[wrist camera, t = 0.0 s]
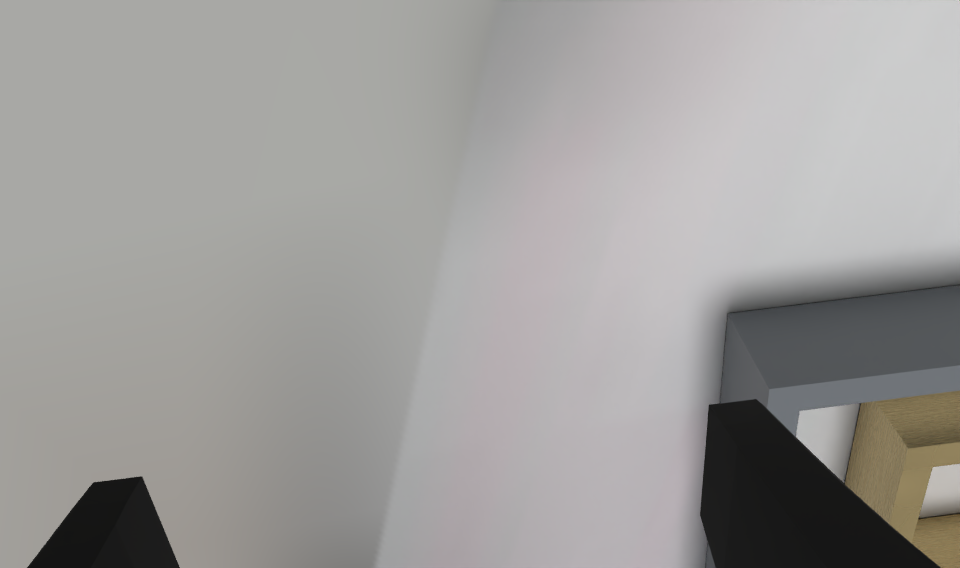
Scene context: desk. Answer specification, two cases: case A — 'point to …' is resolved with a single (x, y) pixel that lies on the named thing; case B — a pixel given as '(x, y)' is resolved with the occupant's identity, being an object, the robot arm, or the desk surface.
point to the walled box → (843, 353)
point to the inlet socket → (908, 466)
